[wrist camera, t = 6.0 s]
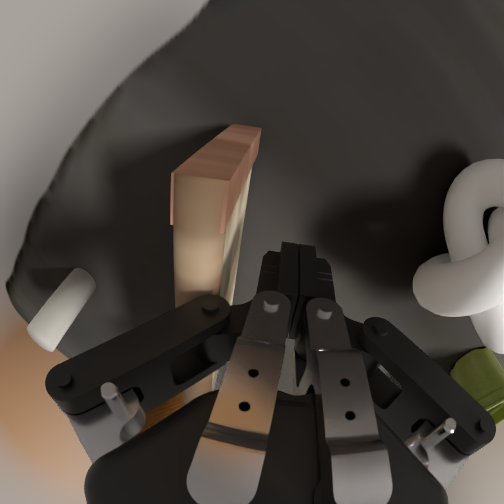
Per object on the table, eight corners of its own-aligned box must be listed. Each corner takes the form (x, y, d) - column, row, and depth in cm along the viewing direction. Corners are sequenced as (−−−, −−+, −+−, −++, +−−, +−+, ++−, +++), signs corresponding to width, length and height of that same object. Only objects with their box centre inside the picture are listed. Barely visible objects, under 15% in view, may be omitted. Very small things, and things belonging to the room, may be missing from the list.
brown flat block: (231, 324, 24) (207, 429, 16) (213, 321, 24) (183, 423, 16) (261, 127, 15) (226, 186, 7) (233, 123, 15) (165, 177, 7)
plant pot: (426, 370, 26) (442, 435, 19) (492, 324, 22) (521, 387, 15) (451, 390, 29) (464, 443, 22) (505, 352, 24) (526, 404, 17)
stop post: (96, 276, 24) (51, 338, 17) (95, 296, 26) (55, 356, 19) (72, 262, 24) (24, 320, 17) (72, 283, 25) (30, 339, 19)
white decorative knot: (426, 122, 14) (519, 166, 6) (536, 170, 13) (608, 225, 6) (384, 272, 20) (416, 371, 13) (490, 284, 19) (532, 358, 12)
